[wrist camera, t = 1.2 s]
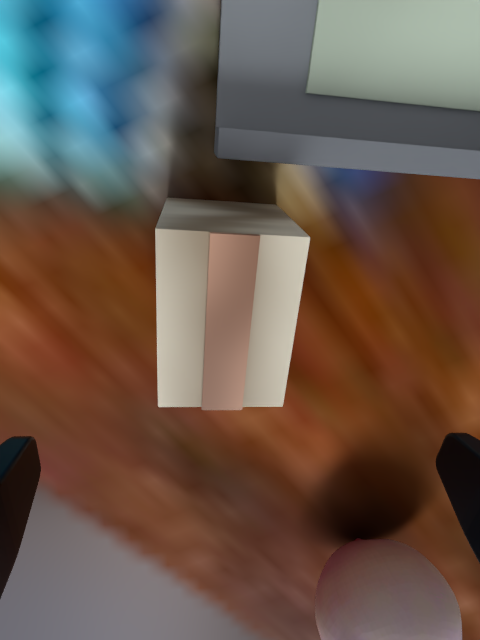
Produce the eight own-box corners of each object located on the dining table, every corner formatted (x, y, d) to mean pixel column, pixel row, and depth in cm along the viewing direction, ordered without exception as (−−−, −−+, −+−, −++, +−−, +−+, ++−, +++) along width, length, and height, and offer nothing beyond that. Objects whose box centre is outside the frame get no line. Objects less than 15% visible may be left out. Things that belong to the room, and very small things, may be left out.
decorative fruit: (428, 496, 29) (533, 662, 20) (401, 564, 32) (479, 730, 24) (305, 503, 28) (358, 682, 19) (292, 572, 31) (330, 750, 22)
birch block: (275, 204, 18) (312, 238, 13) (260, 335, 21) (283, 409, 16) (167, 197, 17) (154, 230, 12) (167, 333, 20) (157, 410, 15)
